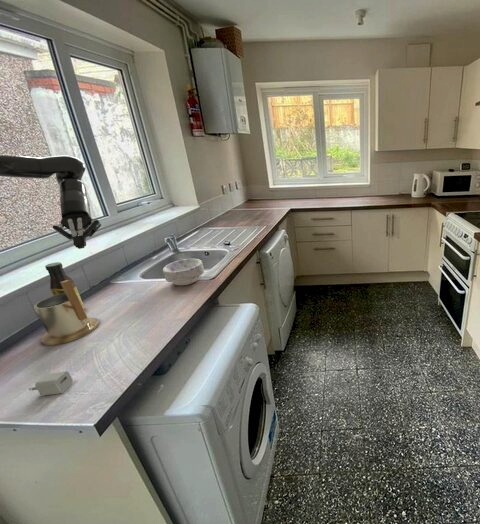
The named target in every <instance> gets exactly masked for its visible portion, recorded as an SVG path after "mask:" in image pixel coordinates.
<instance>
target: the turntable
mask: <svg viewBox="0 0 480 524" xmlns="http://www.w3.org/2000/svg"><path fill="white" fill-rule="evenodd" d="M88 319H89V321H90V325H89V326H88V327H87V328H86V329H85V330H83V331H81V332H79V333H77V334H75V335H72V336H69V337H65V338H60V339H52V338H50V336H49V334H48V333H47V332H45V334H43V335H42V336H41V339H40V341H41V343H42V344H43V345H45V346H57V345H62V344H66V343H70V342H72V341H73V342H74V341H76V340H78V339H80V338H83V337H85V336H86V335H88V334H89V333H91V332H93V331H94V330H95V329H97V327H99V325H100V323H99V320H98V318H96V317H88Z"/></svg>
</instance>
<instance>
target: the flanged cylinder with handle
mask: <svg viewBox="0 0 480 524" xmlns="http://www.w3.org/2000/svg"><path fill="white" fill-rule="evenodd" d="M60 283H61V285H62V287H63V289H64V291H65V294H60V295H56V296H53V295H52V296H50V297H46V298H44V299H41V300H39V301H38V302H37V303H35V304H34V305H33V309H34V310H35V312H36V314H37V316H38V318H39V319H40V322H41V324H42V325H43V327H44V329H45V331H46V333H48V334H49V336H50V338H52V339H60V338H65V337H69V336H72V335H75V334H77V333H79V332H81V331H83V330H85V329H86V328H87V327H88V326H89V325H90V321H89V319H88V318H89V316H88V315H87V313H86V309H85V310H84V308H85V307H84V308H83V306H82V304H81V302H80V300H79V298H78V295H77V294H76V293H75V290H74V288H73V286H72V284H71V282H70V280H65V281H62V282H60Z"/></svg>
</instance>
